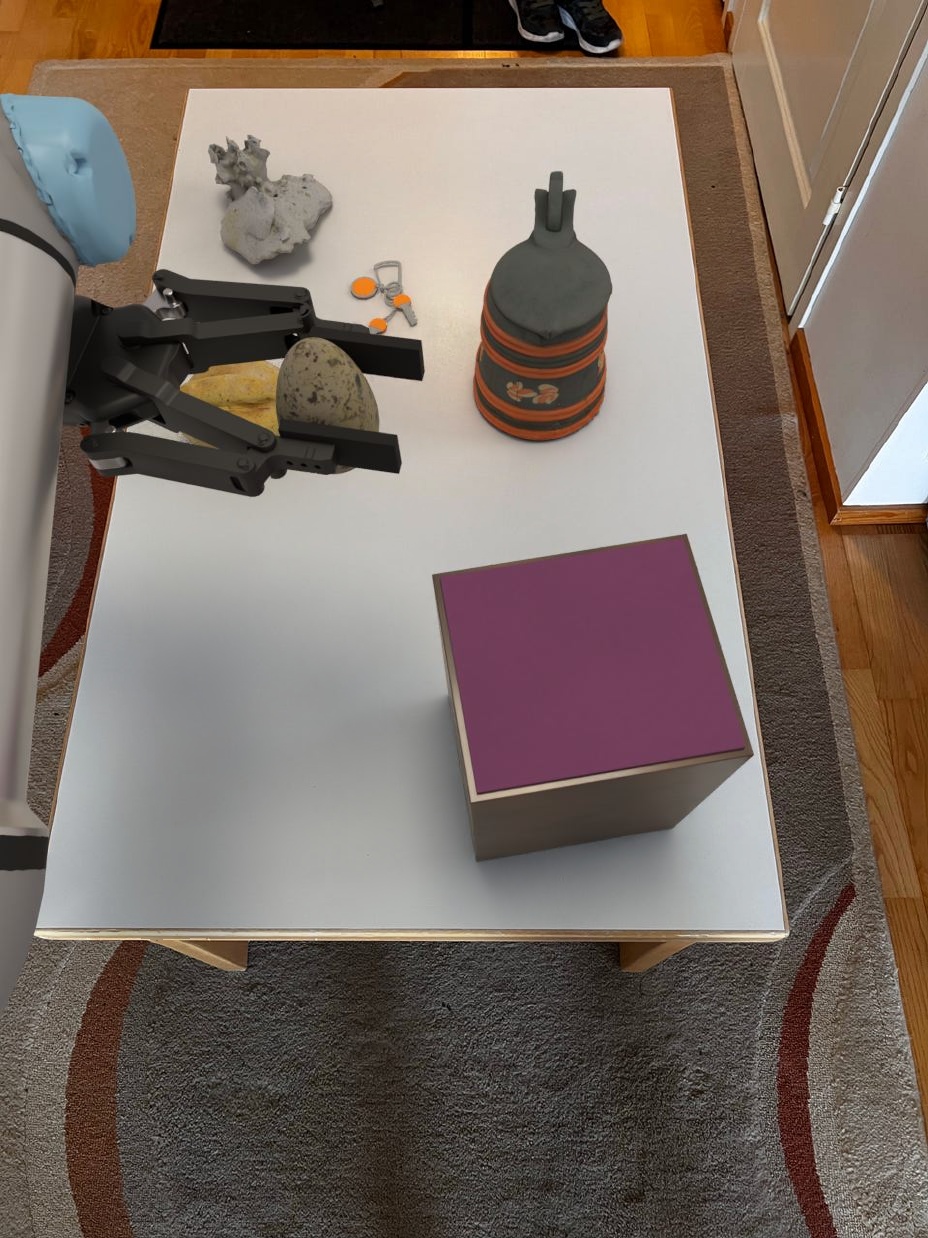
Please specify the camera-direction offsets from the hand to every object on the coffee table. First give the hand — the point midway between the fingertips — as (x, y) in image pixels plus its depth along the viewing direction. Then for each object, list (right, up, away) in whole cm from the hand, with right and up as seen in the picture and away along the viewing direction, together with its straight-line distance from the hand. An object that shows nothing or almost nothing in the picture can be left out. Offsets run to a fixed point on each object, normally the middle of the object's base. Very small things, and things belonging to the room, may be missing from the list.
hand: (409, 406), depth 49 cm
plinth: (+12, -25, +31) cm, 42 cm away
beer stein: (+11, +16, +49) cm, 53 cm away
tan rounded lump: (-21, +9, +47) cm, 52 cm away
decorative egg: (-5, -2, +6) cm, 8 cm away
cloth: (+11, -15, +8) cm, 20 cm away
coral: (-21, +37, +59) cm, 73 cm away
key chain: (-6, +25, +54) cm, 60 cm away
